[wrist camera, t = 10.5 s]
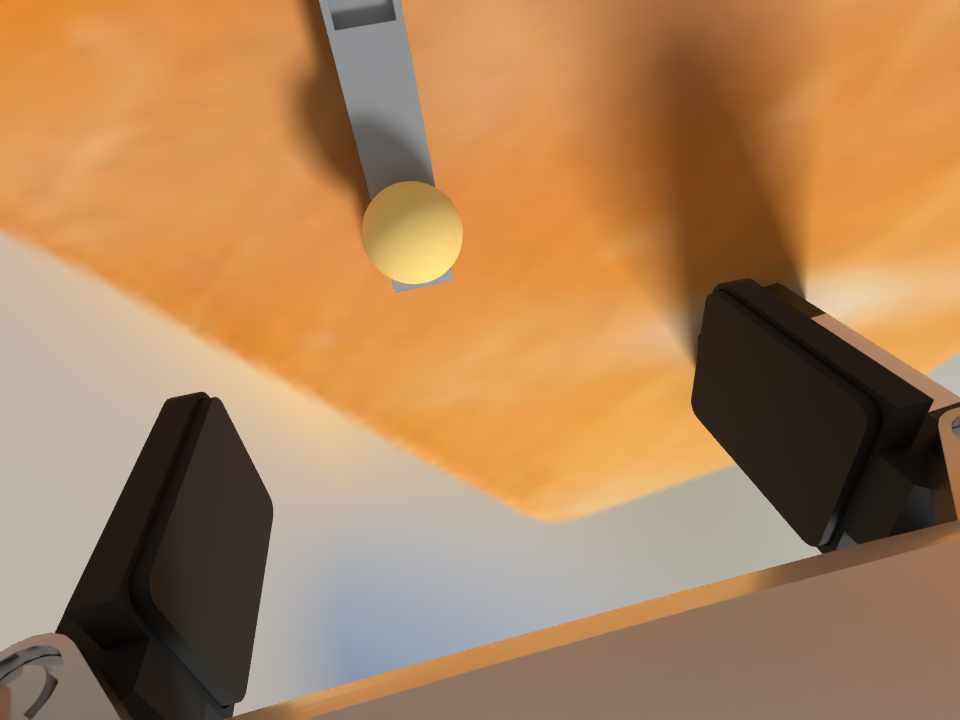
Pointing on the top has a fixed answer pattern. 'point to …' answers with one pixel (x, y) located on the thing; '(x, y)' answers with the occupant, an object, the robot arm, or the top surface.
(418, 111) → the holder
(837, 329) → the wine bottle
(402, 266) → the ball ochre
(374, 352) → the top surface
